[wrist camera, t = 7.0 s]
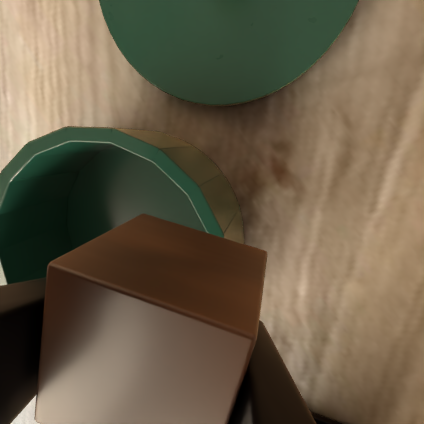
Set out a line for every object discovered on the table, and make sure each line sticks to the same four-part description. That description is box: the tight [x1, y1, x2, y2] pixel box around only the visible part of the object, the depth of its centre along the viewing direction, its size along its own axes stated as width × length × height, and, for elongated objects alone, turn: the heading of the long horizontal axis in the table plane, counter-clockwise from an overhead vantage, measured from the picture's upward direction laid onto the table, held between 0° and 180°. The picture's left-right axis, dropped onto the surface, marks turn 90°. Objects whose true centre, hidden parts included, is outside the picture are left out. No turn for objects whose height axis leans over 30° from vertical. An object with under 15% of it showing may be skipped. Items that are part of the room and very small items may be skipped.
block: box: [35, 214, 267, 424], centre depth 8 cm, size 4×4×4 cm
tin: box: [0, 126, 244, 286], centre depth 18 cm, size 13×14×6 cm
